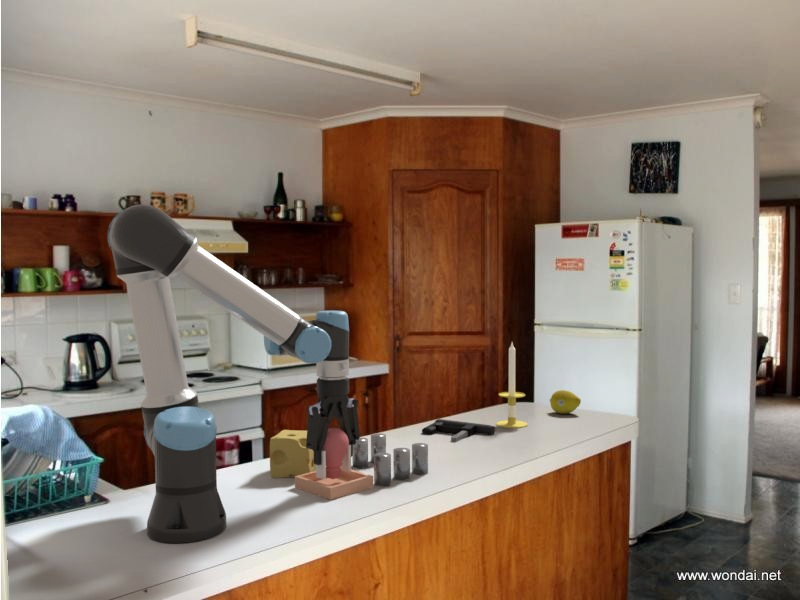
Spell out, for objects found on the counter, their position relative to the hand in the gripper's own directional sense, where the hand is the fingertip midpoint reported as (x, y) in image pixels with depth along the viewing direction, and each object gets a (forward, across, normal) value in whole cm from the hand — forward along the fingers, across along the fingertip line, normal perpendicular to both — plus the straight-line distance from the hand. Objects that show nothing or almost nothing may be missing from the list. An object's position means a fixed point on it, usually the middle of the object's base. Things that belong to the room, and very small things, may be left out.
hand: (333, 474), depth 175 cm
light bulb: (+1, 0, 0) cm, 1 cm away
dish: (+3, 0, 0) cm, 3 cm away
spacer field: (+3, +16, +1) cm, 16 cm away
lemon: (+3, +108, +6) cm, 108 cm away
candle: (+3, +82, +9) cm, 83 cm away
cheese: (+3, +1, +16) cm, 16 cm away
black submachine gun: (+4, +60, +13) cm, 61 cm away
